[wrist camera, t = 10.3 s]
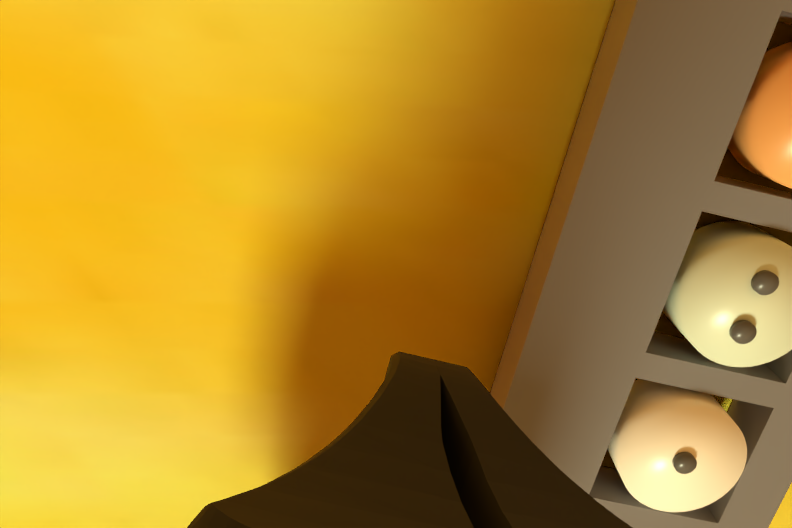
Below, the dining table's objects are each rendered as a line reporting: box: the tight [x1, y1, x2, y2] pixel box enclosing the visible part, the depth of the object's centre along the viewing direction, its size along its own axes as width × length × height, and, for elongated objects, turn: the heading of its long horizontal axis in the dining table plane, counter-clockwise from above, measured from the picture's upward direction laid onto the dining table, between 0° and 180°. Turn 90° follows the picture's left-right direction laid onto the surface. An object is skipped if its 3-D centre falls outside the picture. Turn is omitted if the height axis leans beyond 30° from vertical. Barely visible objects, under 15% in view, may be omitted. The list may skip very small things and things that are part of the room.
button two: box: [663, 221, 792, 367], centre depth 20 cm, size 4×4×2 cm
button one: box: [607, 379, 747, 512], centre depth 22 cm, size 4×4×2 cm
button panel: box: [490, 0, 792, 528], centre depth 21 cm, size 18×10×2 cm, turn 167°
